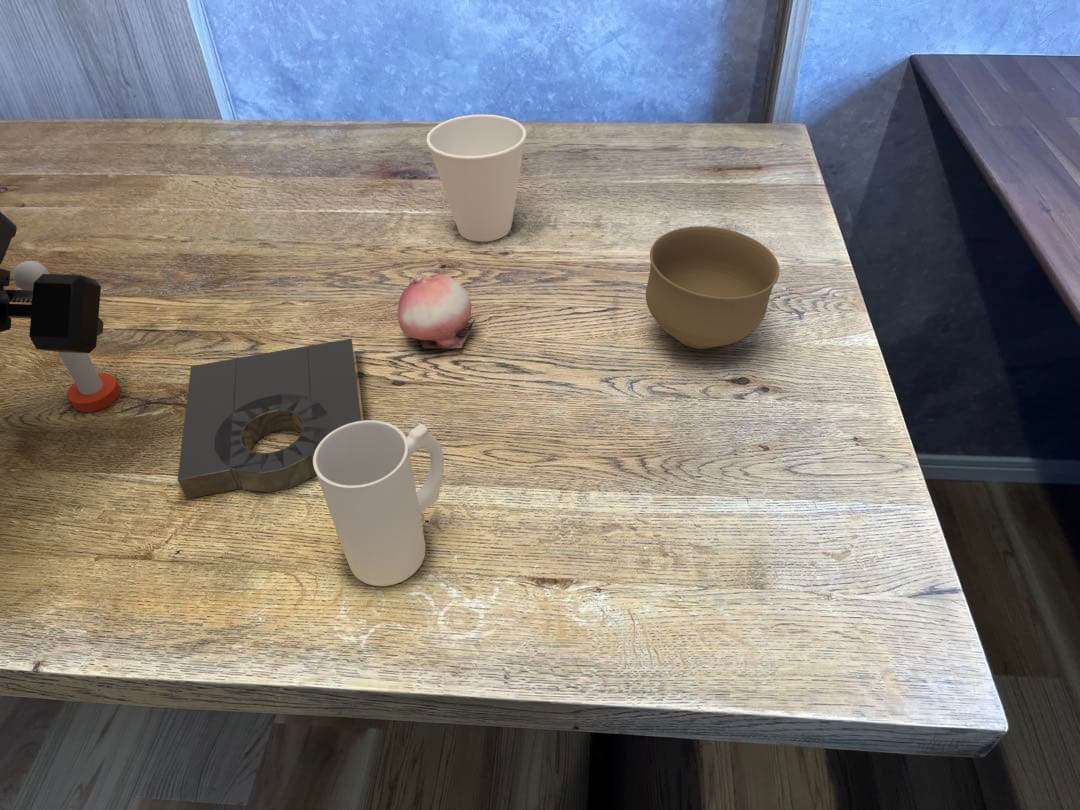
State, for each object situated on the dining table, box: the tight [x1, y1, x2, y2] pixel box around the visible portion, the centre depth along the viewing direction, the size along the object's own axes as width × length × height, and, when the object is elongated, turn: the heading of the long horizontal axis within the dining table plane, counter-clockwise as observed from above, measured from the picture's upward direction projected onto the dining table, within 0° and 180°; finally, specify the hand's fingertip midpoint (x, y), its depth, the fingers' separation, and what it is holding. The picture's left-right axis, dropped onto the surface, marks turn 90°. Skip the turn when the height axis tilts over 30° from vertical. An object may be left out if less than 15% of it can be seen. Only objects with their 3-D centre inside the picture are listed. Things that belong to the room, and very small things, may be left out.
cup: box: [425, 113, 527, 243], centre depth 100 cm, size 12×12×12 cm
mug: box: [313, 419, 445, 587], centre depth 63 cm, size 10×7×12 cm, turn 133°
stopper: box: [12, 260, 121, 413], centre depth 77 cm, size 5×5×16 cm
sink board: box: [177, 338, 365, 500], centre depth 77 cm, size 16×17×2 cm
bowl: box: [645, 225, 780, 350], centre depth 83 cm, size 13×13×10 cm
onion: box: [397, 272, 477, 349], centre depth 85 cm, size 8×8×7 cm
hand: (55, 325), depth 76 cm, fingers open, 9 cm apart
